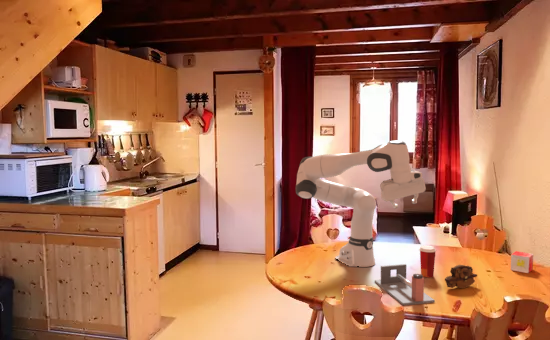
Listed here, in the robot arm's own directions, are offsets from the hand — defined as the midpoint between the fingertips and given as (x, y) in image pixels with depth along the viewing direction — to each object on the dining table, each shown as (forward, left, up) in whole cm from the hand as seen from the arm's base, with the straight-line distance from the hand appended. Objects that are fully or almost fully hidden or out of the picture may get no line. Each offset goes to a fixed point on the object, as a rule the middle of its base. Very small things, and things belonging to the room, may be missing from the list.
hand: (405, 205), depth 200 cm
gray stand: (+5, -7, -37) cm, 38 cm away
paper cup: (-1, +18, -37) cm, 41 cm away
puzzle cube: (+21, +63, -37) cm, 76 cm away
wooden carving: (+18, +17, -37) cm, 44 cm away
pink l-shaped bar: (+10, -9, -35) cm, 38 cm away
